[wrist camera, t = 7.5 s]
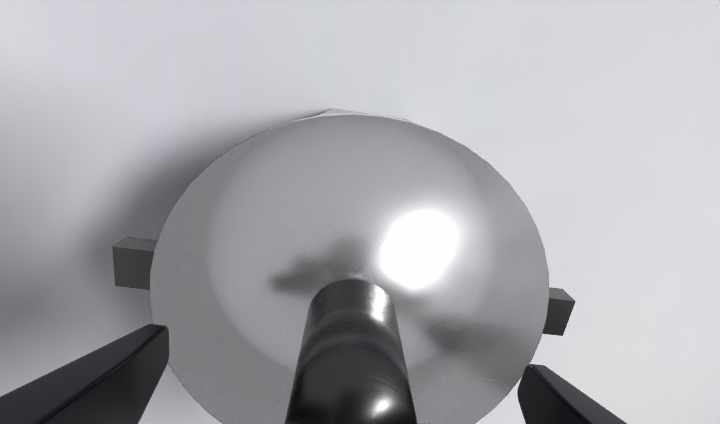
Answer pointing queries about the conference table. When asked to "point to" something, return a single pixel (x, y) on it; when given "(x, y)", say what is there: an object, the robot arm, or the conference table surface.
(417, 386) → the lid
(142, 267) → the pot
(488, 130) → the conference table surface
